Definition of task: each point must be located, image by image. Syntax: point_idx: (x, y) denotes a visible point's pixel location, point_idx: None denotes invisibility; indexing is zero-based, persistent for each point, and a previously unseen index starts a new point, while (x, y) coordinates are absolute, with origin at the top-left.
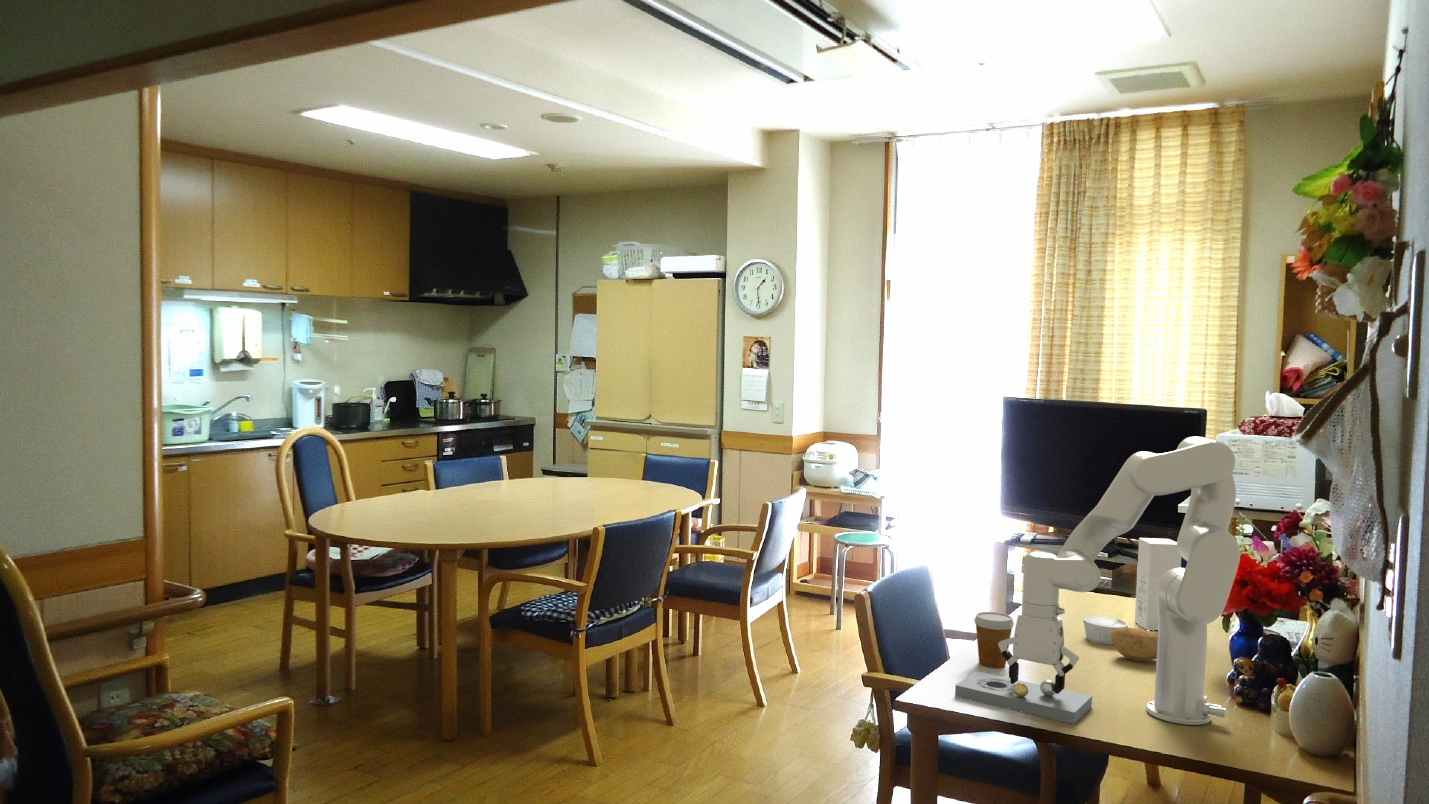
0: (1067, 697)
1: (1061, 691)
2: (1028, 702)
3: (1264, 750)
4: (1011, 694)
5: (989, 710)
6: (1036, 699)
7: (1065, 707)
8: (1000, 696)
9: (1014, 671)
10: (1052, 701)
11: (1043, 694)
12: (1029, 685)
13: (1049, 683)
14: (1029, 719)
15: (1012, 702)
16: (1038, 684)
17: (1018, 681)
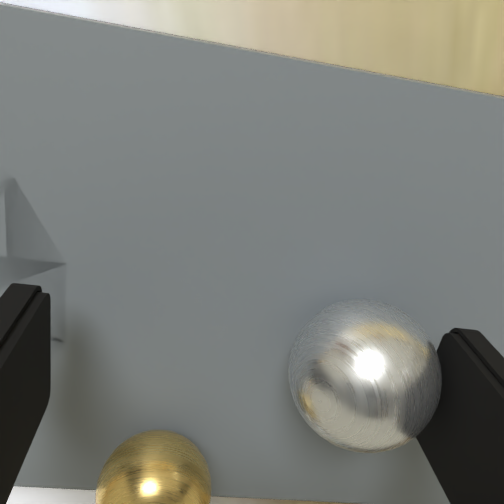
0: (490, 282)
1: (453, 154)
2: (228, 494)
3: None
4: (85, 432)
5: (23, 493)
6: (269, 435)
7: None
8: (29, 480)
9: (6, 497)
10: None
11: (305, 313)
12: (150, 140)
13: (387, 450)
14: (248, 498)
15: None
16: (226, 49)
17: (9, 60)
